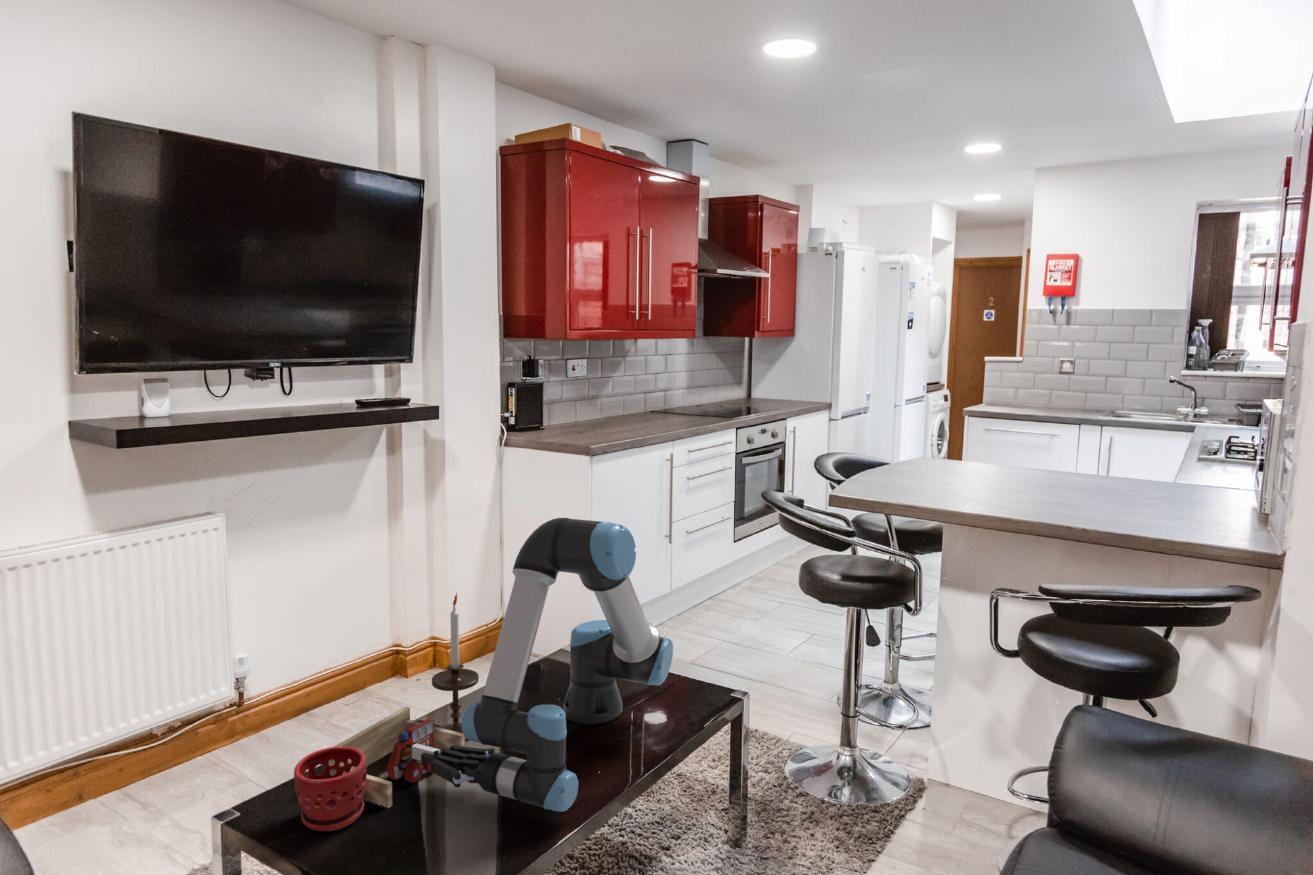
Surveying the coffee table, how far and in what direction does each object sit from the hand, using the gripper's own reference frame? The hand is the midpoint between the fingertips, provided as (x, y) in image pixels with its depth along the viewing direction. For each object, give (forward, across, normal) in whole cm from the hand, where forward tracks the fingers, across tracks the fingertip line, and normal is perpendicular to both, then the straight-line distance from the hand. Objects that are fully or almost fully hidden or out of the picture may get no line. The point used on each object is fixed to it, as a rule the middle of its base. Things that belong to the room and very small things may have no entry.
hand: (414, 750), depth 176 cm
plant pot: (+4, -19, -7) cm, 20 cm away
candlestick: (+5, +20, -7) cm, 22 cm away
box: (+6, +1, -6) cm, 9 cm away
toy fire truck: (+1, +1, -6) cm, 7 cm away
